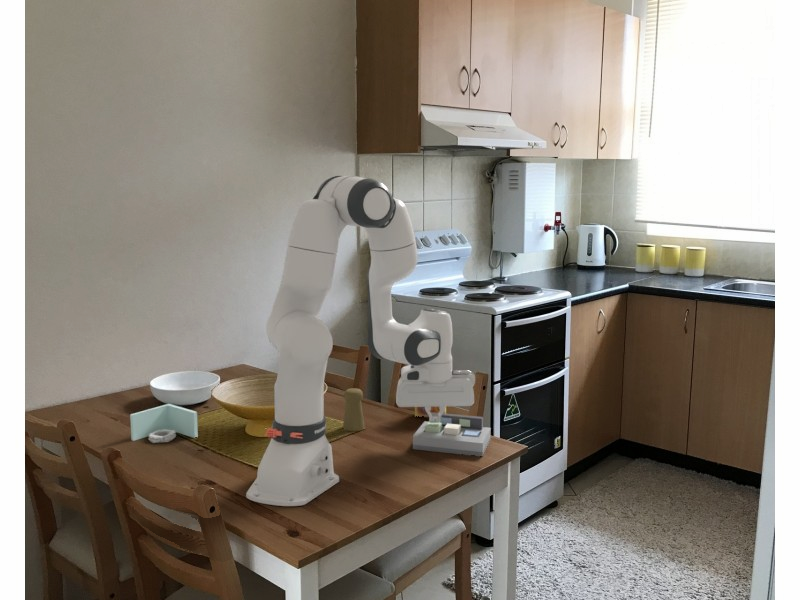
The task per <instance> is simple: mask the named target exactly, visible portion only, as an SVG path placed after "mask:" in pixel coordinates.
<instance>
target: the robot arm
mask: <svg viewBox="0 0 800 600" xmlns="http://www.w3.org/2000/svg"><path fill="white" fill-rule="evenodd" d="M346 226H351V227H362V228H364V229H365V232H366V235H367V237H368V238H367V240H368V246H369V251H370V253H369V254H370V266H369V267H368V269H367V272H366V292H367V293H366V294H367V306H368V308H367V309H368V310H367V311H368V322H369V323H368V331H367V347H368V349H369V352H370V353H371V355H372V356H373V357H375V358H376V359H379V360H384V361H392V362H395V363H399V364H404V365H405V366H403V367H401V369H400V375H401V376H400V378H399V379H398V381H397V387H396V391H395V392H396V393H395V394H396V395H395V403H396V405H397V406H398V408H415V407H425V410H426V412H427V414H428V416H429V417H428V422H429V423H441V416H442V414H443V413H444V411H445V406H446V407H472V406H473V404H474V403H475V393H474V392H475V391H474V386H475V384H476V374H474V373H473V372H472V371H470V370H468V369H466V370H459V369H453V355H452V347H453V343H454V342H453V337H454V336H453V323H452V317H451V315H450V313H448V311H445V310H441V309H434V308H422V309H421V310H420V313H419V315H418V317H416V319H414V320H413V322H410V323H409V324H408V325H407V324H404V323H399V322H398V321H396V319H395V318H394V317H393V303H392V287H393V286H394V284H395V283H398V282H400V281H402V280H403V279H407V277H409V276H411V274H412V273H413V272H414V270H415V269H416V267H417V265H418V261H419V260H418V259H419V258H418V253H419V252H418V247H417V241H416V236H415V230H414V226H413V223H412V219H411V216H410V213H409V210H408V208H407V205H406V204H405V202H403V201H402V200H401V199H398V198H395V197H393V194H392V193H391V191H390V189H389V188H388V187H387V185H385V184H384V183H382V182H381V181H379V180H377V179H375V178H366V177H363V176H362V177H361V176H358V175H335V176H331V177H330V178H328V179H326V180H324V181H323V182H322V183H321V185H320V186H319V187H318V189H317V190H316V194H315V195H314V196H313V198H312V199H308V200H305V201H303V202H301V204H299V206H298V207H297V210H296V213H295V216H294V218H293V221H292V224H291V226H290V227H291V228H290V232H289V236H288V241H287V245H286V251H285V259H284V263H283V270H282V275H281V279H280V284H279V287H278V291H277V293H276V296H275V298H274V303H273V305H272V309H271V312H270V315H269V316H268V317H267V321H266V324H265V325H266V326H265V327H266V334H267V339H268V342H269V343H270V344H271V346H272V347H273V348H275V350H277V352H278V360H279V361H278V369H277V377H276V381H275V383H274V385H273V386H274V387H273V388H274V389H273V390H274V392H273V393H274V395H273V396H274V398H273V399H274V418H273V420H272V425H271V427H268V428H267V430H266V437H267V438H271V439H270V442H269V443H268V446H267V447H266V450H265V451H264V454H263V456H262V458H261V461H260V462H259V464H258V468H257V475H256V476H257V477H256V478H255V480H253V481H254V482H253V483H252V484H251V486H250V487H249V488H248V490H247V491H246V493H245V494H246V495H245V497H246V499H248V500H250V501H253V502H255V503H259V504H263V505H271V506H278V507H279V506H281V507H298V506H305V505H306V504H308V503H309V502H311V501H312V500H314V499H315V498H317V497H318V496H320V495H321V494H324V492H325V491H328V490H329V489H330V488H332V487H333V486H335V485H336V484H338V483H339V482H340V476H339V475H338V474H336V473H335V471H334V469H335V468H334V461H333V458H334V457H333V449H332V444H331V443H330V442H329V440H328V438H327V437H326V432H327V420H326V419H327V418H326V416H325V414H324V413H325V412H324V408H325V407H324V405H325V404H324V402H325V400H324V397H325V396H324V391H325V390H324V388H325V387H324V386H325V377H326V371H327V367H328V361H329V360H328V359H329V356H330V355H331V354H332V351H333V345H334V344H333V343H334V342H333V341H334V340H333V336H332V334H331V331H330V330H329V328H328V326H327V325H326V324H325V322H323V320H321V319H320V312H321V309H322V307H323V305H324V301H325V299H326V297H327V296H328V293H329V292H330V291H331V288H332V284H333V280H334V274H335V273H334V272H335V268H336V267H335V266H336V262H337V255H338V251H339V250H338V248H339V240H340V236H341V234H342V233H343V230H344V229H345V228H346ZM431 407H439V409H440V411H439V413H438V414H431V413H430V411H429V410H431Z"/></svg>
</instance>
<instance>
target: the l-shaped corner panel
mask: <svg viewBox="0 0 800 600" xmlns="http://www.w3.org/2000/svg"><path fill="white" fill-rule="evenodd" d="M129 419H130V435H131V436H130V437H131V441H133V442H134V441H137V440H141V439H144V438H147V437H148V438H147V439H148V440H149V442H150V443H152V444H155V443H157V444H159V443H169V442H171V441H173V440H174V439H175V438H176V436H177V433H178V434H181V435H184V436H188V437H189V438H193V439H196V438H195V437H197V438H198V437H199V434H198V433H199V432H198V431H199V430H198V429H199V428H198V412H197V411H195V410H192V409H188V408H185V407H183V406H179V405H173V404H167V403H165V404H163V405H160V406H156V407H152V408H148V409H145V410H142V411H137V412H135V413H131V414H129Z"/></svg>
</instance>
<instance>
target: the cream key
mask: <svg viewBox="0 0 800 600" xmlns="http://www.w3.org/2000/svg"><path fill="white" fill-rule="evenodd" d="M460 433H461V425H458V424H448V423H447V425H446V426H445V427H444V434H450V435H460Z"/></svg>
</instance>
